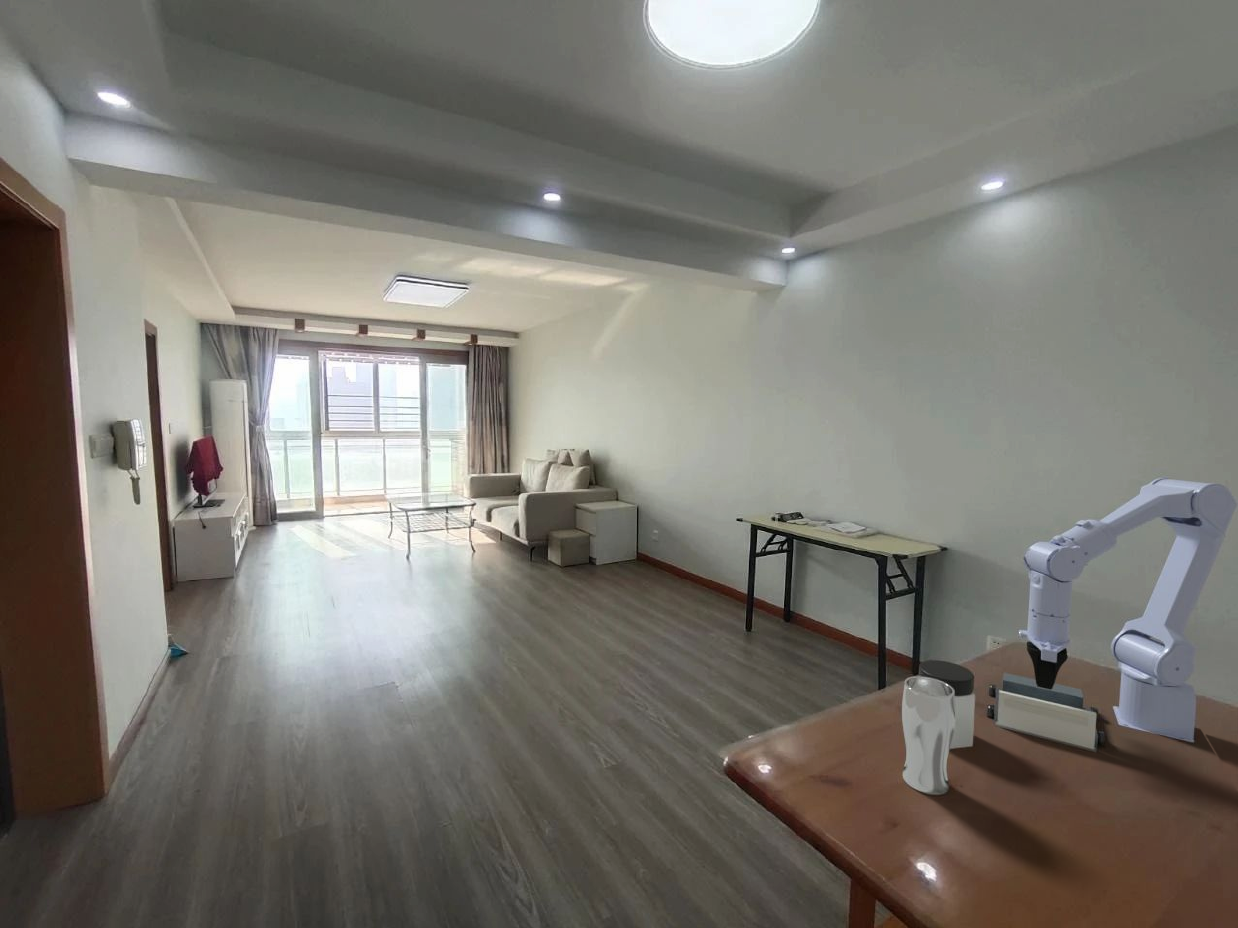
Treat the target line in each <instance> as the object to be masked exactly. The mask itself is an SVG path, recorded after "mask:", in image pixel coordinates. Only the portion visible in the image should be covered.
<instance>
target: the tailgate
mask: <svg viewBox="0 0 1238 928" xmlns="http://www.w3.org/2000/svg"><path fill="white" fill-rule="evenodd" d="M994 724H995V725H994V726H995V727H998V728H1002V729H1006V730H1008V731H1009V730H1010V731H1014V732H1018V733H1021V734H1024V735H1029V736H1032V737H1036V738H1041V739H1043V740H1048V741H1051V742H1056V743H1059V744H1063V745H1067V746H1071V747H1074V748H1079V749H1080V750H1081V749H1083V750H1086V751H1089V752H1094V753H1097V749H1096V747H1094V743H1095V728H1096V729H1097V727H1096V726H1097V725H1096V724H1097V721H1096V712H1092V711H1087V710H1085V709H1079V708H1074V707H1070V706H1066V705H1061V704H1057V703H1053V702H1048V701H1044V700H1040V699H1035V698H1031V697H1027V696H1022V695H1018V694H1014V693H1009V692H1005V691H1002V689H1001V690H999V704H998V722H996V721H995V722H994Z"/></svg>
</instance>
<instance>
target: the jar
mask: <svg viewBox="0 0 1238 928" xmlns="http://www.w3.org/2000/svg"><path fill="white" fill-rule="evenodd" d="M918 676H922V677H929V678H934V679H937V680H940V681H943V682H945V683H947V684H948V685H950V686H951V687H952V688H953V689H954V691H955V728H954V733H953V738H952V742H951V746H950V749H951V750H952V749H960V748H967V747H969V748H970V747H974V746H973V744H974V726H975V709H976V708H975V704H976V694H975V692H974V688H975V687H974V686H975V675H974V672H973V671H971V670H970V669H968V668H967V667H964V665H960V664H958V663H954V662H950V661H946V660H937V659H934V660H933V659H930V660H923V661H922V662H920V663H919V666H918ZM950 749H949V750H950Z"/></svg>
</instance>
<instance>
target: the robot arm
mask: <svg viewBox="0 0 1238 928" xmlns="http://www.w3.org/2000/svg"><path fill="white" fill-rule="evenodd" d="M1237 506H1238V503H1237V500H1236V499H1235V497H1234V495H1233V494H1232V492H1231V491H1230V489H1229V488H1228V487H1227V486H1225V485H1223V484H1222V483H1216V482H1209V483H1208V482H1200V481H1199V482H1198V481H1189V480H1182V479H1180V480H1179V479H1172V478H1168V477H1159V478H1158V477H1157V478H1156V479H1153V480H1152V481H1151V482H1150V483H1147V484H1145V485H1143V486H1141V488H1140V489H1139V494H1138V495H1136V496H1134V497H1133V498H1131V499H1130V500H1129V501H1127V502H1125V503H1124V504H1123V505H1121V506H1119V507H1118V508H1116V510H1114V511H1112V512H1111V513H1109V514H1108V515H1106V516H1105V517H1103V518H1102V519H1100V520H1096V519H1086V520H1085V519H1081V520H1079V521H1077V522H1076V523H1075V525H1076V526H1074V527H1072V528H1070V529H1068V530H1066V531H1065V532H1063V533H1062V534H1061V533H1060V534H1059V535H1058V534H1057V535H1055V536H1053V537H1052V539H1051V540H1050V541H1038V542H1036V543H1034V544H1032V545H1030V547H1028V549H1027V551H1026V554H1025V555H1022V561H1023V565H1024V567H1026V569H1027V572H1028V575H1027V576H1028V577H1027V579H1029V581H1030V583H1029V598H1028V600H1029V601H1028V616H1027V630H1024V629H1019V630H1018V636H1019V637H1022V638H1025V639H1027V640H1028V641H1026V650H1027V654H1028V655H1029V657H1030V659H1031V662H1032V665H1033V669H1034V670H1033V671H1034V679H1035V680H1036V684H1037V686H1038V687H1041V688H1046V689H1050V690H1052V688H1053V686H1054V684H1056V683H1055V682H1056V679H1057V676H1058V673H1059V671H1060V669H1061V668H1062V666H1063V664H1065V662H1066V661H1067V660H1068V658H1069V656H1068V649H1067V648H1068V647H1069V646H1070V643H1071V641H1070V639H1069V637H1070V619H1071V606H1072V605H1071V604H1072V602H1071V601H1072V588H1073V581H1074V580H1076V579H1078V578H1079V577H1080V576H1081V574H1082V572H1083V571H1084V568H1085V567H1086V566H1088V564H1089V563H1090V562H1091V561H1093V560H1095V559H1096V558H1098V557H1099V556H1101V555H1103V554H1105V553H1107V552H1108V551H1110V550H1111V549H1114V548H1115V547H1116V545H1117V542H1118V541H1117V539H1118V537H1120V536H1122V535H1124V534H1126V533H1128V532H1130V531H1133V530H1135V529H1137V528H1138V527H1141V526H1143V525H1145V524H1147V523H1149V522H1152V521H1154V520H1155V519H1158V518H1160V519H1161V520H1162V521H1163V522H1164V523H1165V524H1167V525H1168V526H1169V527H1171V529H1172V530H1173V532H1174V533H1175V536H1176V538H1175V539H1174V542H1173V545H1172V547H1171V549H1170V552H1169V554H1168V556H1167V558H1166V561H1165V564H1164V566H1163V568H1162V570H1161V573H1160V575H1159V576H1158V577H1159V578H1158V580H1157V582H1156V584H1155V586H1154V589H1153V592H1152V594H1151V595H1150V598H1149V600H1148V603H1147V606H1146V608H1145V611H1144V613H1143V615H1142V616H1141V617H1139V618H1135V619H1132V620H1128V621H1126V622H1125V623H1124V626H1123V627H1122V629H1121V630H1120V632H1119V633H1118V634H1116V635H1115V636H1114V637H1113V639H1112V640H1111V641H1112V642H1111V644H1110V653H1111V655H1112V657H1113V658H1114V660H1116V661H1118V665H1117V667H1118V668H1119V669H1120V670H1121V675H1120V686H1119V701H1118V706H1116V705H1114V706H1112V709H1113V712H1114V715H1115V717H1116V721H1117V723H1118V725H1120V726H1122V727H1126V728H1131V729H1134V730H1138V731H1144V732H1147V733H1151V734H1154V735H1155V734H1156V735H1160V736H1165V737H1168V738H1173V739H1177V740H1181V741H1185V742H1190V743H1195V740H1194V737H1195V723H1196V715H1197V714H1196V713H1197V698H1196V697H1197V696H1196V691H1195V688H1194V686H1193V685H1192V684H1189V683H1186V682H1187V681H1188V680H1190V678H1191V677H1192V675H1193V672H1194V668H1195V665H1194V664H1195V663H1194V660H1195V654H1196V653H1197V650H1198V649H1197V647H1196V646H1195V645H1194V643H1193V642H1192V640H1191V639H1190V638H1189V637H1188V636H1187V634H1186V633H1185V630H1186V628H1187V626H1188V623H1189V621H1190V619H1191V617H1192V614H1193V612H1194V610H1195V606H1196V605H1197V603H1198V601H1199V598H1200V595H1201V593H1202V591H1203V589H1204V587H1205V585H1206V582H1207V579H1208V577H1209V575H1210V572H1211V571H1212V568H1213V565H1214V563H1215V561H1216V558H1217V556H1218V554H1219V552H1220V549H1221V547H1222V545H1223V543H1224V539H1225V537H1226V531H1227V529H1228V526H1229V525H1230V523H1231V520H1232V517H1233V515H1234V514H1235V511H1236V508H1237ZM1152 638H1155V639H1157V640H1159V641H1161V642H1159V641H1157V640H1155V639H1152Z"/></svg>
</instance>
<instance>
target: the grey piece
mask: <svg viewBox="0 0 1238 928" xmlns="http://www.w3.org/2000/svg"><path fill="white" fill-rule="evenodd" d="M1002 673H1003V674H1002V686H999V685H996V684H991V683H989V689H988V690H989V691H988V695H989V696H990V697H995V701H994V704H990V703H988V704H987V709H986V714H987V715H986V717H988V718H991V719H993V723H995V721H996V722H998V704H999V690H1001V691H1005V692H1009V693H1014V694H1018V695H1022V696H1027V697H1031V698H1035V699H1040V700H1044V701H1048V702H1053V703H1057V704H1061V705H1066V706H1070V707H1074V708H1079V709H1083V707H1084V709H1083V710H1087V711H1092V712H1096V722H1099V721H1098V720H1099V708H1098V707H1094V706H1087V705H1084V694H1083V690H1082V689H1080V688H1076V687H1072V686H1066V685H1063V684H1058V683H1054V686H1053V688H1052V690H1050V689H1046V688H1041V687H1038V686H1037V684H1036V680H1035V678H1031V677H1030V678H1029V677H1025V676H1020V675H1015V674H1010V673H1006V672H1002ZM1098 746H1099V747H1104V748H1105V747H1106V734H1105V732H1103V731H1099V730H1097V727H1096V728H1095V743H1094V747H1096V750H1097V749H1098Z"/></svg>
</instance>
